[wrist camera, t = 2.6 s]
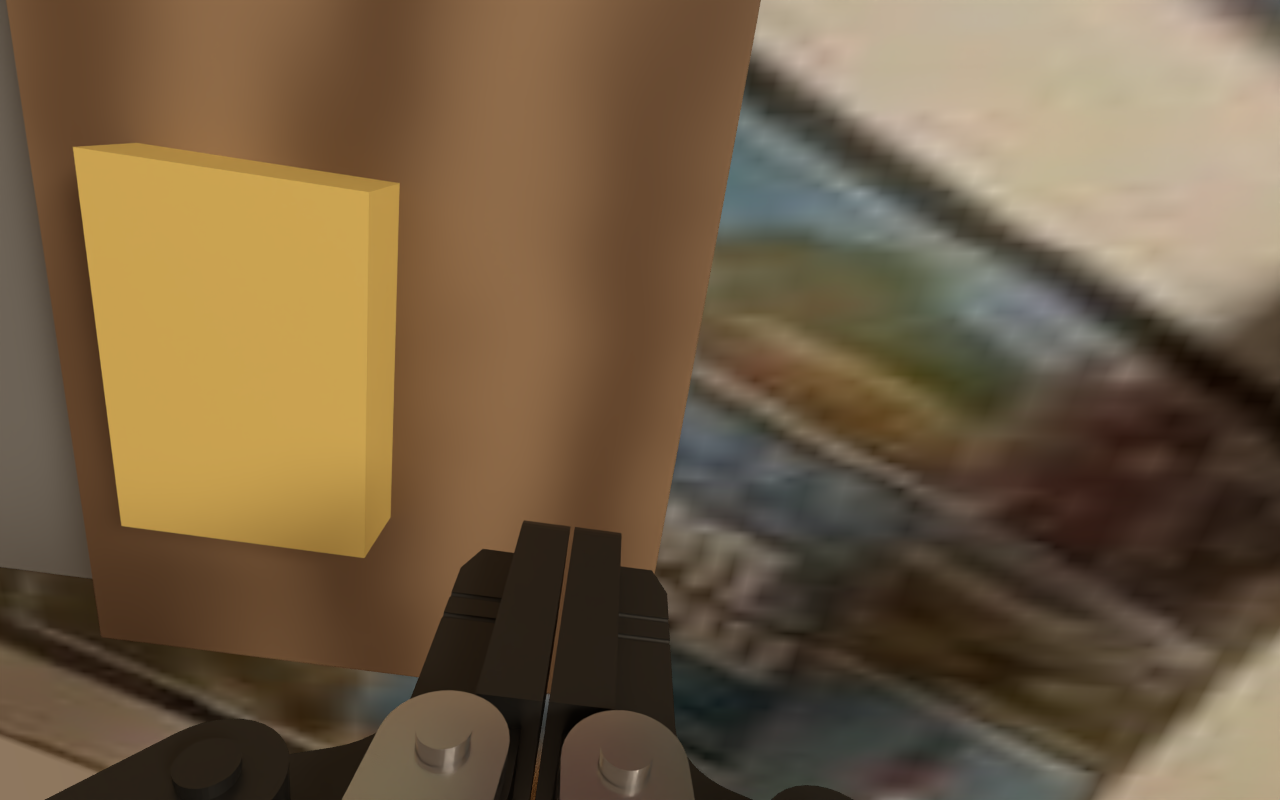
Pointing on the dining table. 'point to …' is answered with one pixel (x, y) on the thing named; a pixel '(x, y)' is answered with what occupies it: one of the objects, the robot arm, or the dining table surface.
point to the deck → (418, 273)
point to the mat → (30, 370)
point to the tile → (244, 344)
